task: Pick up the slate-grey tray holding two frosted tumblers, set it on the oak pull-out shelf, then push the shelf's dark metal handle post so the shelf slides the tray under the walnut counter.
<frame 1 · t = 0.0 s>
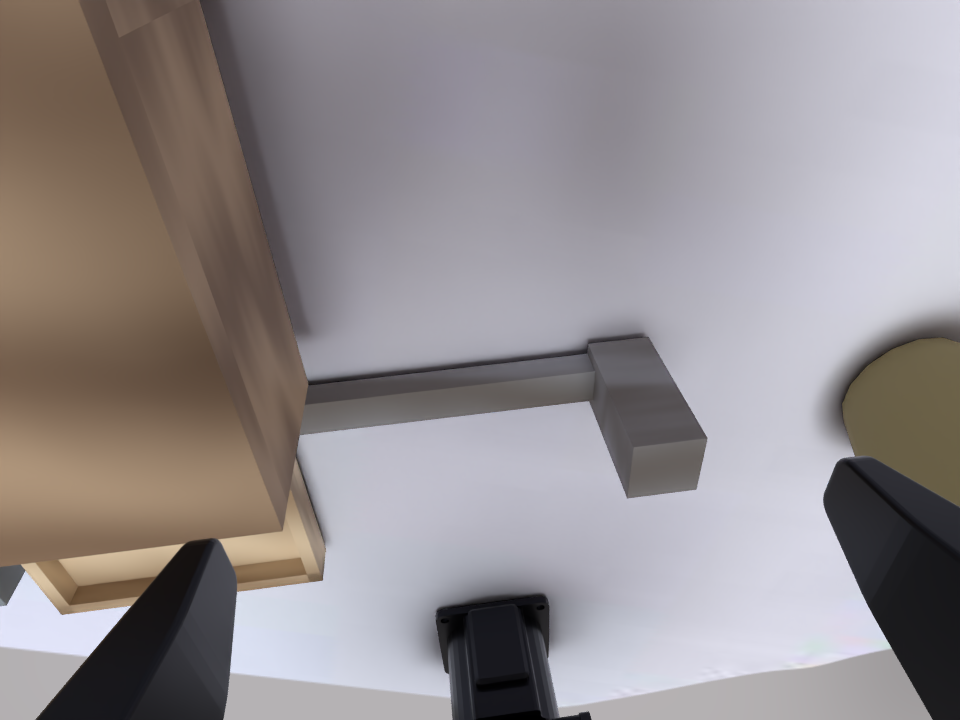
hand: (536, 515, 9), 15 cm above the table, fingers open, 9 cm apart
shelf: (332, 521, 26), point 3 cm above the table, slide at 0.0 cm
squeeze bottle: (898, 383, 30), on the table
counter: (18, 205, 20), on the table
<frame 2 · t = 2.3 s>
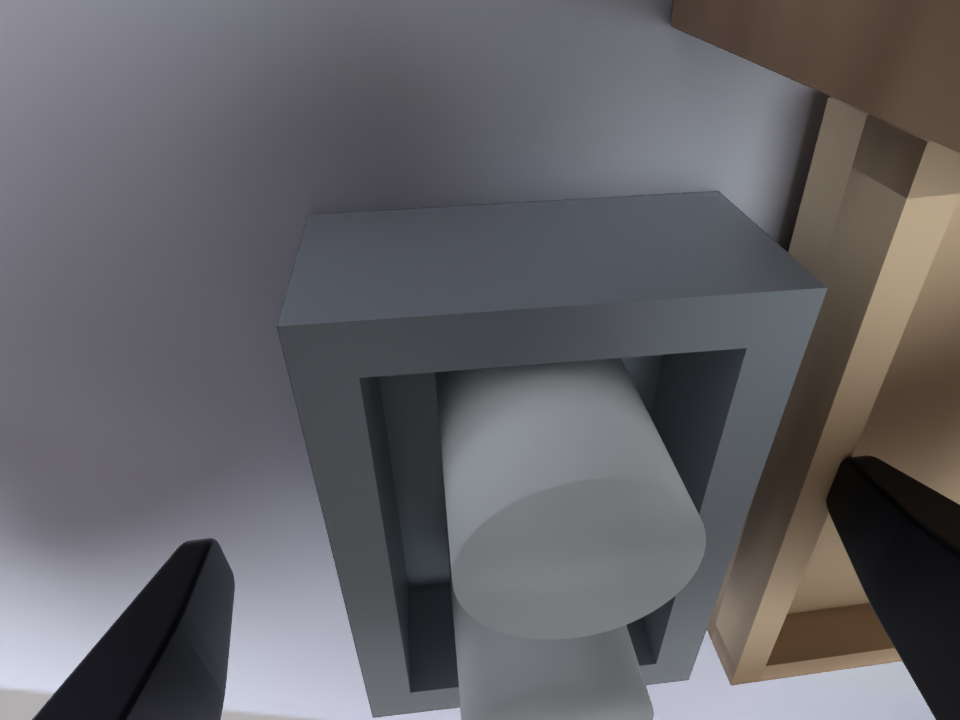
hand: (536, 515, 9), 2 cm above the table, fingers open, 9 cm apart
tray: (511, 413, 11), on the table
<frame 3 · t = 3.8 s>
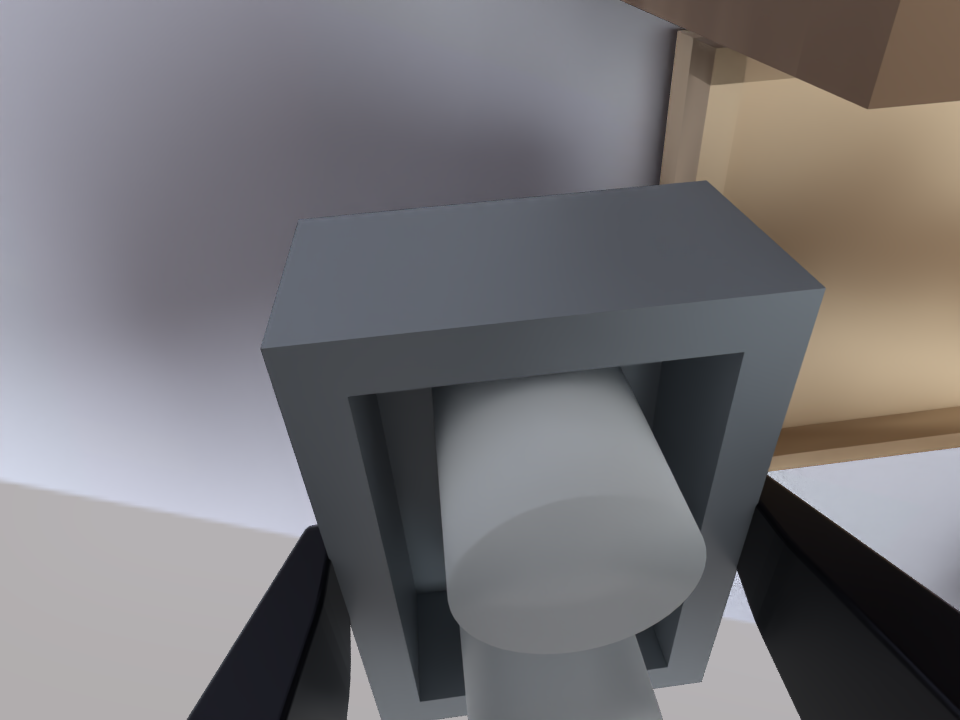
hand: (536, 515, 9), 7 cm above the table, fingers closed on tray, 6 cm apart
tray: (513, 418, 11), point 5 cm above the table, touching gripper
when the fingers open (4 cm above the table, at t = 6.2 s): tray stays where it is, resting on shelf.
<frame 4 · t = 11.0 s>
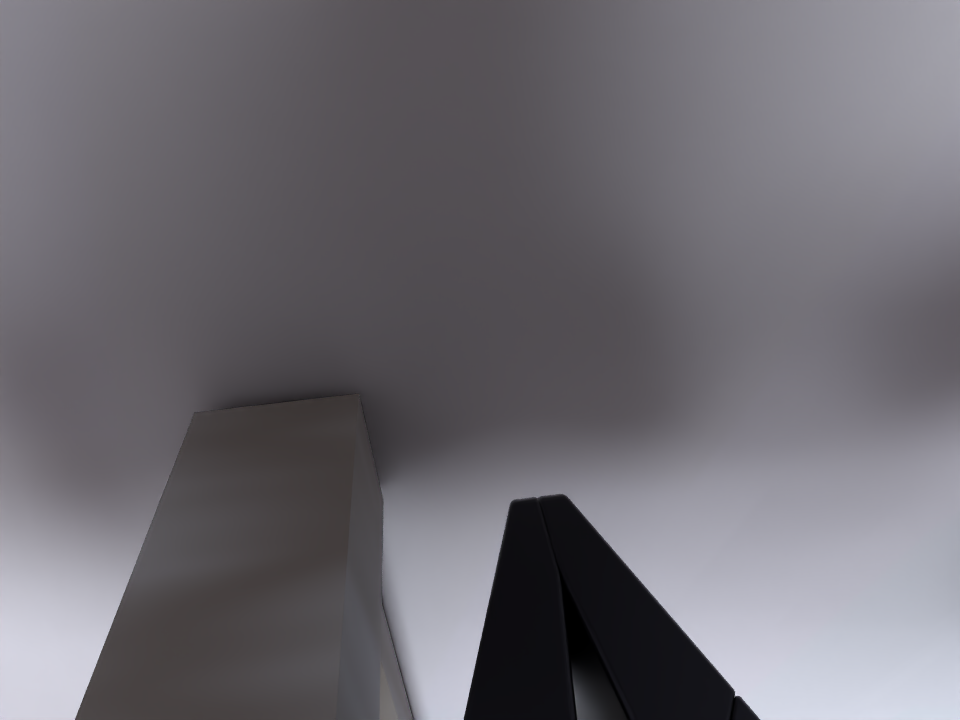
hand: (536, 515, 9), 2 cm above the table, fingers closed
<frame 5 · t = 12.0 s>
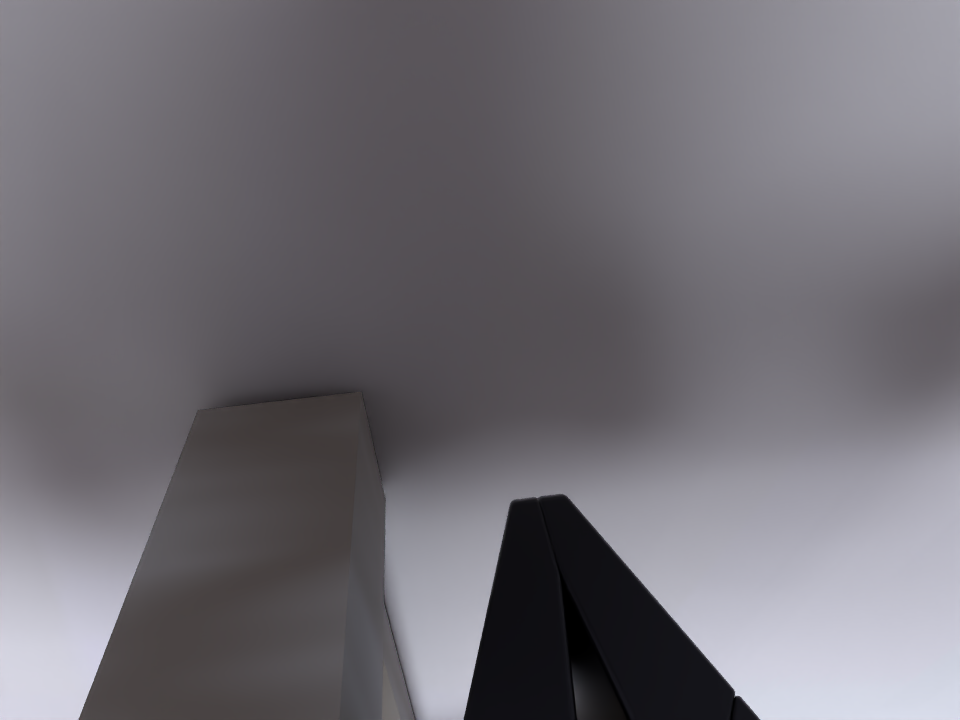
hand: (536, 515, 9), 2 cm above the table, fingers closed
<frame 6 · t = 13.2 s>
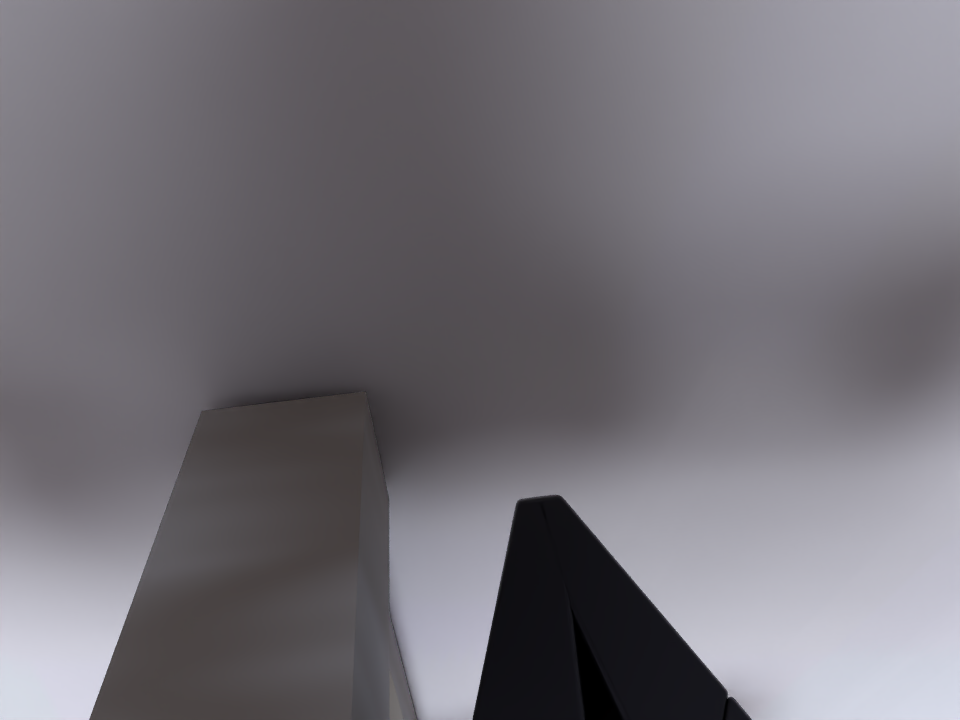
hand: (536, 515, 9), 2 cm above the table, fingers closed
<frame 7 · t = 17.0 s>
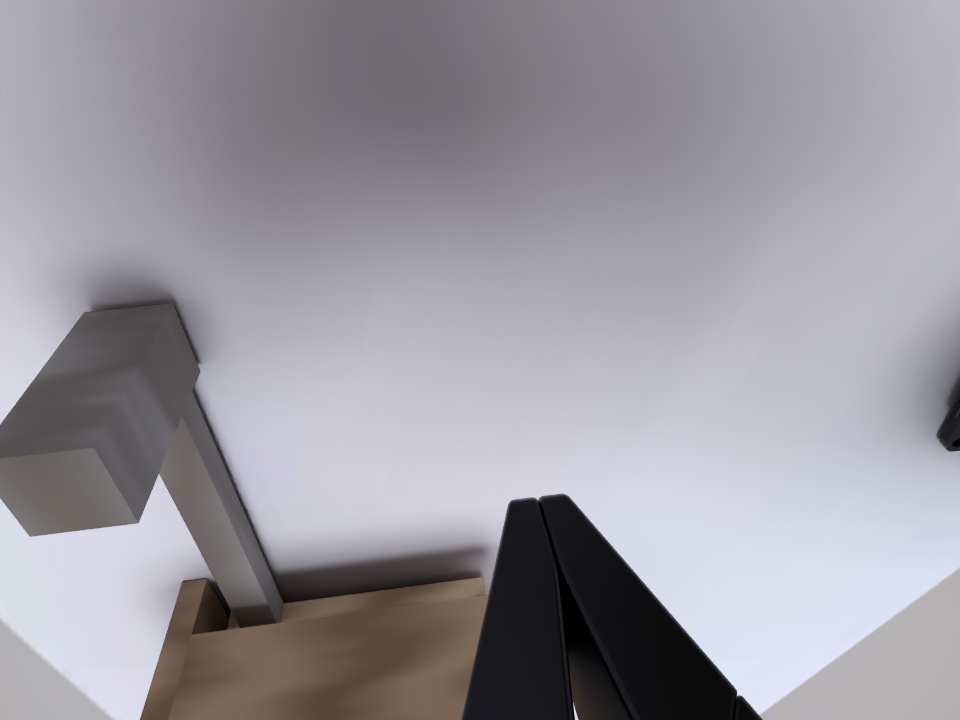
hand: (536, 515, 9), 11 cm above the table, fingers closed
shelf: (347, 638, 24), point 3 cm above the table, slide at 12.5 cm, touching tray
counter: (369, 658, 31), on the table
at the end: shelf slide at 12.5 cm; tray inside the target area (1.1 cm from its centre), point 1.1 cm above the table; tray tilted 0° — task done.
